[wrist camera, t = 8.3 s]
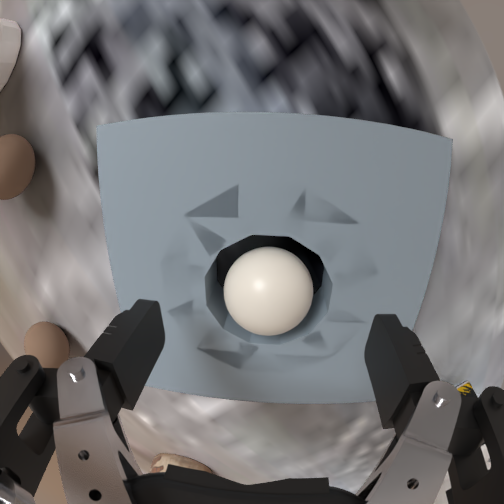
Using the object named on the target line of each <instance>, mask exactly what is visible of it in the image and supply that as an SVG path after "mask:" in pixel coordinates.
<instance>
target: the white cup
mask: <svg viewBox="0 0 504 504" xmlns="http://www.w3.org/2000/svg"><path fill="white" fill-rule="evenodd" d="M20 46H21V29H20V27H19V25H18V24H17V22H15V21H11V20H7V19H3V18H0V91H1V90H2V89H3V87H4V86H5V84H6V83H7V81H8V79H9V77H10V75H11V73H12V70H13V68H14V66H15V64H16V60H17V57H18V53H19V49H20Z"/></svg>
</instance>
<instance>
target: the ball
mask: <svg viewBox="0 0 504 504" xmlns="http://www.w3.org/2000/svg"><path fill="white" fill-rule="evenodd" d="M312 298H313V283H312V279H311V276H310V273H309V271H308V269H307V268H306V266H305V265H304V263H303V262H302V261H301V260H300V259H299V258H298V257H297V256H295V255H294V254H293V253H291V252H289V251H287V250H285V249H282V248H278V247H271V246H270V247H259V248H255V249H253V250H250V251H248V252H246V253H244V254H243V255H242V256H240V257H239V258H238V259H237V260H236V261H235V262H234V263H233V265H232V266H231V268H230V269H229V271H228V273H227V276H226V279H225V283H224V300H225V304H226V307H227V309H228V311H229V313H230V315H231V316H232V318H233V319H234V320H235V321H236V322H237V323H238V324H239V325H240V326H241V327H243V328H244V329H246V330H247V331H249V332H252V333H254V334H258V335H264V336H272V335H279V334H282V333H285V332H287V331H289V330H291V329H293V328H294V327H295V326H297V325H298V324H299V323H300V322H301V321H302V320H303V319H304V317H305V316H306V314H307V313H308V311H309V309H310V306H311V303H312Z"/></svg>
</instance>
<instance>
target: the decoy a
mask: <svg viewBox="0 0 504 504" xmlns="http://www.w3.org/2000/svg"><path fill="white" fill-rule="evenodd" d="M34 170H35V155H34V151H33V149H32V147H31V145H30V143H29V142H28V141H27V140H26V139H25V138H23V137H22V136H19V135H16V134H7V135H3V136H1V137H0V199H1V200H7V199H11V198H14V197H16V196H18V195H19V194H20V193H22V192H23V191H24V190H25V189H26V187H27V186H28V185H29V183H30V181H31V179H32V177H33V174H34Z"/></svg>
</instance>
